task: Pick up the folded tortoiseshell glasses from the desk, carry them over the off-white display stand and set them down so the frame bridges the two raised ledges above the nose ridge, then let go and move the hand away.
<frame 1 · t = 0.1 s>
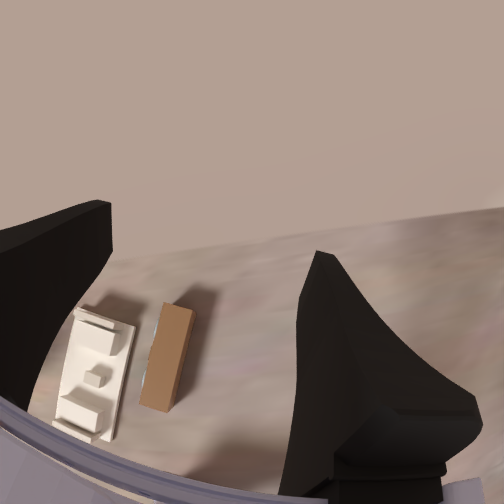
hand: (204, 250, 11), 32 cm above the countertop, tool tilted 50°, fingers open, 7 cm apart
glasses: (171, 356, 40), on the countertop
display stand: (93, 375, 38), on the countertop
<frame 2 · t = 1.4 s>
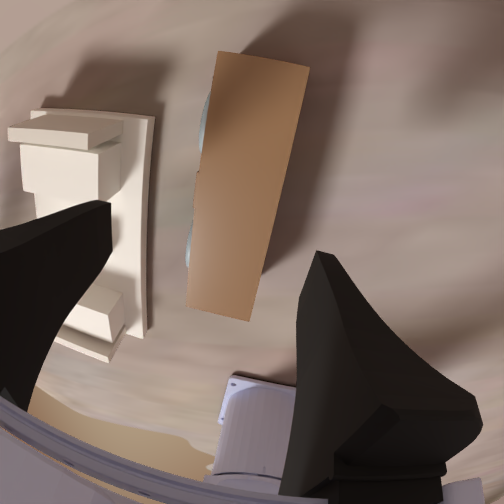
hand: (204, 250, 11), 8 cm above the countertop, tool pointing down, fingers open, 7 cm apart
glasses: (249, 175, 18), on the countertop
display stand: (90, 230, 21), on the countertop
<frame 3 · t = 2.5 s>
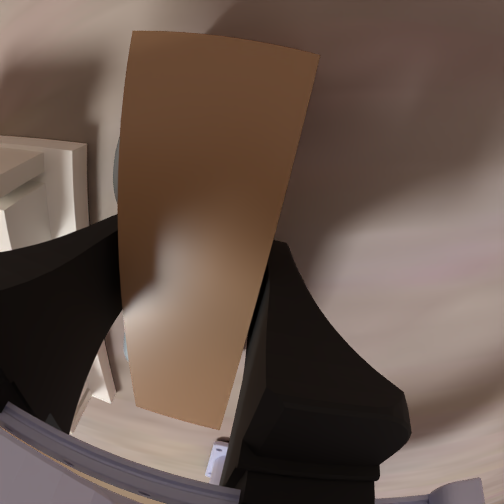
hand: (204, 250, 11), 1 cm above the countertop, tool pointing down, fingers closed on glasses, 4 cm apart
glasses: (218, 230, 12), on the countertop, touching gripper
display stand: (35, 284, 15), on the countertop
when the fingers open (6 cm above the countertop, at t = 5.0 s): glasses drops 1 cm, resting on display stand.
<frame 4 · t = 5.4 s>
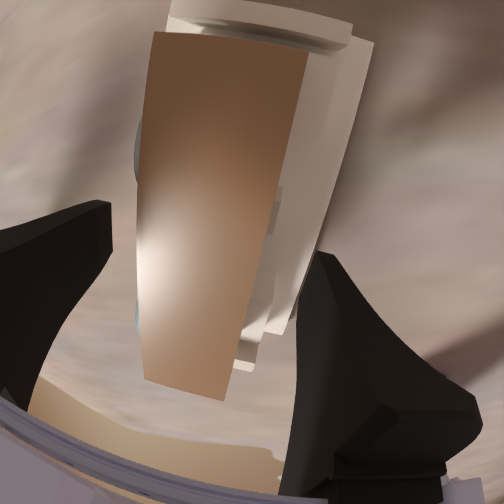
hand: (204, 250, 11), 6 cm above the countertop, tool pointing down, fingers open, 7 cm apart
glasses: (223, 211, 13), point 3 cm above the countertop, touching display stand
display stand: (237, 185, 16), on the countertop
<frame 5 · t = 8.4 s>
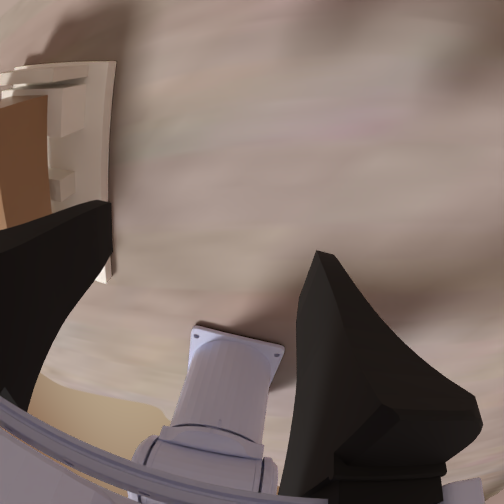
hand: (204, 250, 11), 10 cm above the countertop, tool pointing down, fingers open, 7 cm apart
glasses: (31, 189, 18), point 3 cm above the countertop, touching display stand
display stand: (60, 173, 21), on the countertop
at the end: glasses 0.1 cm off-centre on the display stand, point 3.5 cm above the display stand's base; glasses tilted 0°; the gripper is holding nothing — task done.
